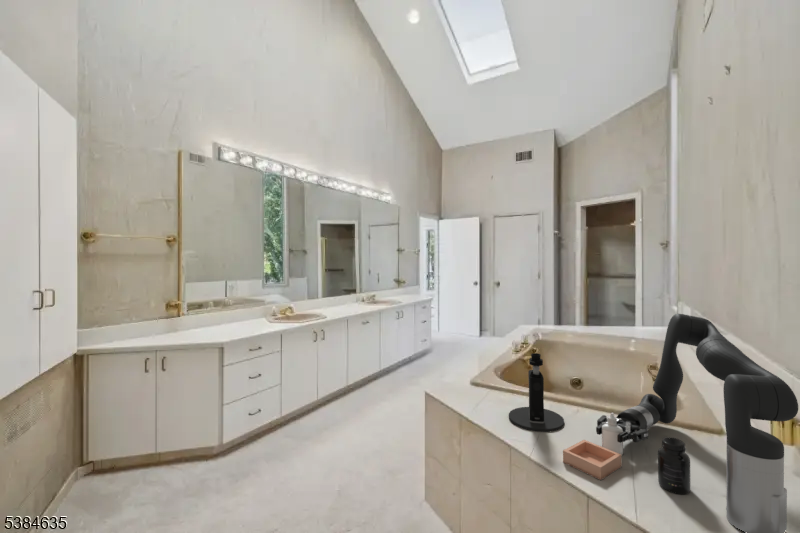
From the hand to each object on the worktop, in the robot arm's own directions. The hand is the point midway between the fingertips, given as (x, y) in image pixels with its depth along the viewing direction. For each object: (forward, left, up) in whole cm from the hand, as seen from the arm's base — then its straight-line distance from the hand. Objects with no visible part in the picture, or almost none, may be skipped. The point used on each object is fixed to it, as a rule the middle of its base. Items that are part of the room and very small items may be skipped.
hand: (608, 435), depth 114 cm
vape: (+28, -4, -6) cm, 29 cm away
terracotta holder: (0, +9, -6) cm, 11 cm away
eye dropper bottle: (0, -3, -6) cm, 7 cm away
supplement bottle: (-18, +2, -6) cm, 19 cm away
